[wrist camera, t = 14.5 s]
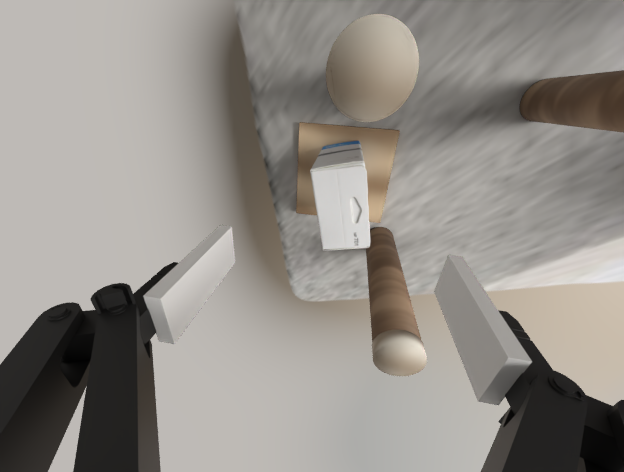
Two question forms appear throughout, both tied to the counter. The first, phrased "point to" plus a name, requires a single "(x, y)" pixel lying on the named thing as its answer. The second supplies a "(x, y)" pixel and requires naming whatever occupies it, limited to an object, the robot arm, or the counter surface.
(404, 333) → the corner post
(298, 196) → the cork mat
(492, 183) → the counter surface
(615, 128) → the gate post
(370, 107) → the gate post
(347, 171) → the ink box
